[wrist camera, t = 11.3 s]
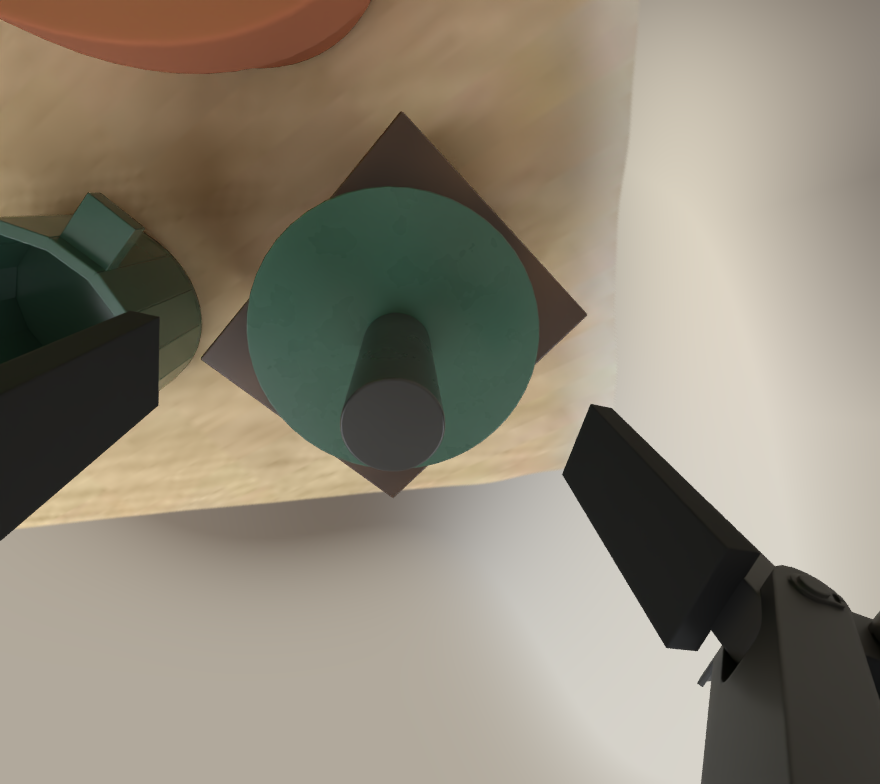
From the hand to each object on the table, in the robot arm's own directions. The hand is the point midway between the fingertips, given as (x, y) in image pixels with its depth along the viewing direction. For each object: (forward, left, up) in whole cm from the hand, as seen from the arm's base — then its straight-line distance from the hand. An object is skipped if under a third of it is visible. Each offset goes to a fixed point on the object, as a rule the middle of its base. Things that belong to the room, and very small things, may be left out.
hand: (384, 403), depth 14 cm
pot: (-13, -14, -19) cm, 27 cm away
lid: (0, 0, -7) cm, 7 cm away
